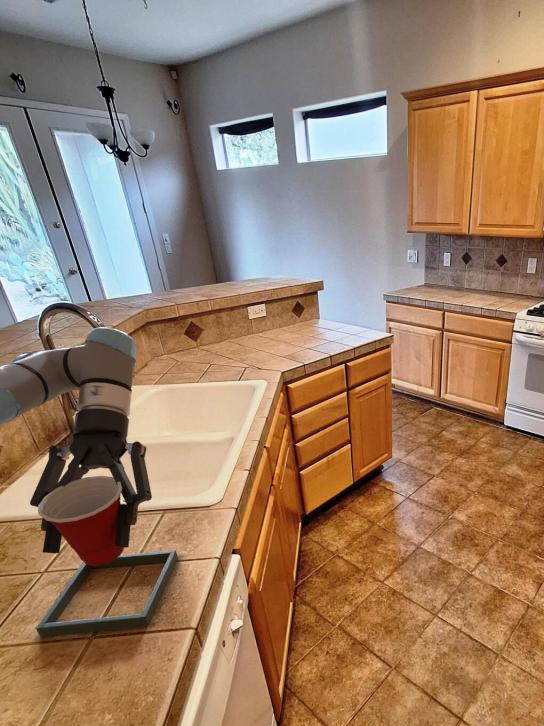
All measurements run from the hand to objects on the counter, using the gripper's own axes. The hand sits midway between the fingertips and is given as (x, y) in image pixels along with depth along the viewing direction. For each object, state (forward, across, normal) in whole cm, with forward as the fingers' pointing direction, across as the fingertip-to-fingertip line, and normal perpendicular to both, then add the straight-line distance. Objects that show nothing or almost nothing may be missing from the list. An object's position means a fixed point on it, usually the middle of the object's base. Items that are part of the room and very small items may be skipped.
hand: (86, 549), depth 66 cm
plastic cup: (+1, 0, +5) cm, 5 cm away
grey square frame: (+7, 0, +11) cm, 14 cm away
